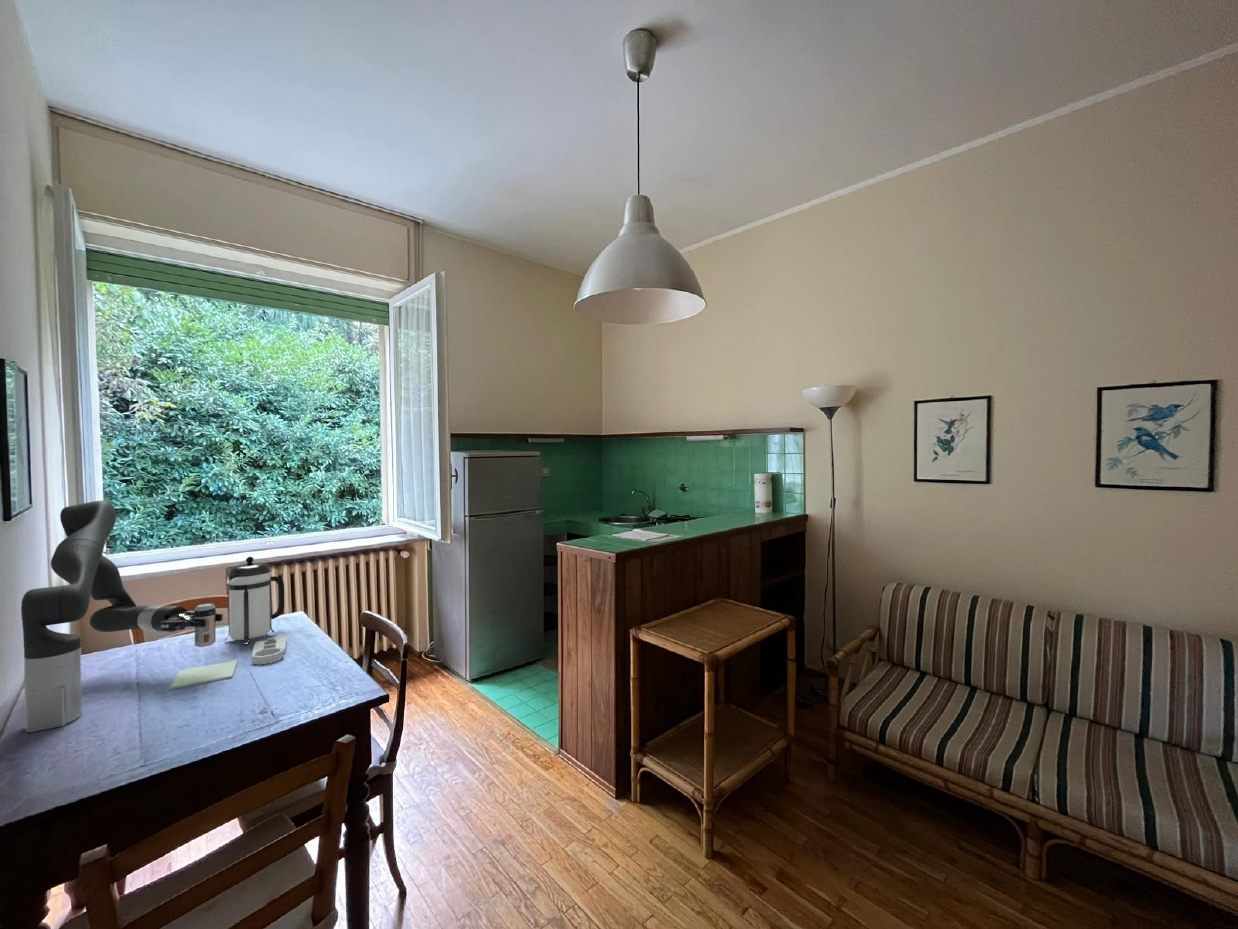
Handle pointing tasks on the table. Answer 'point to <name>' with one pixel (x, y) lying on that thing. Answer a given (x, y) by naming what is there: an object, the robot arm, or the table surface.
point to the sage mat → (204, 674)
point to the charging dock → (268, 650)
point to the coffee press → (252, 600)
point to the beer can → (207, 633)
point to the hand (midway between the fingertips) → (213, 620)
